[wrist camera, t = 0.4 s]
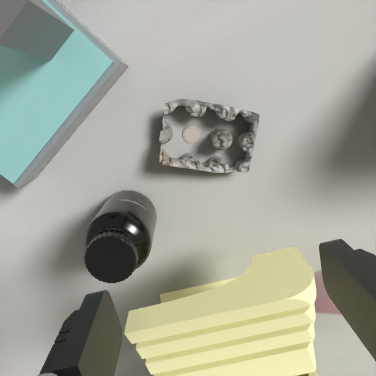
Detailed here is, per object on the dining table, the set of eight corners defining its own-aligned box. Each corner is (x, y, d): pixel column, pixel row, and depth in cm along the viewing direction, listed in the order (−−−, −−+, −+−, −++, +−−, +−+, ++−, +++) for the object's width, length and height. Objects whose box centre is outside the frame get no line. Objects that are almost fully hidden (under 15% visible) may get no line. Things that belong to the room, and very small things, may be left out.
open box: (30, -25, 34) (6, -45, 29) (128, 66, 37) (121, 62, 32) (-61, 101, 37) (-96, 102, 32) (36, 177, 40) (17, 188, 35)
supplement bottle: (148, 182, 41) (138, 217, 29) (162, 233, 42) (158, 284, 31) (94, 196, 41) (62, 235, 29) (110, 245, 43) (86, 301, 31)
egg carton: (156, 158, 40) (154, 165, 36) (166, 94, 38) (165, 95, 34) (242, 172, 41) (249, 181, 37) (256, 111, 39) (265, 113, 35)
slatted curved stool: (296, 393, 50) (359, 548, 33) (193, 415, 51) (203, 579, 33) (266, 210, 42) (329, 289, 25) (144, 237, 42) (123, 333, 25)
